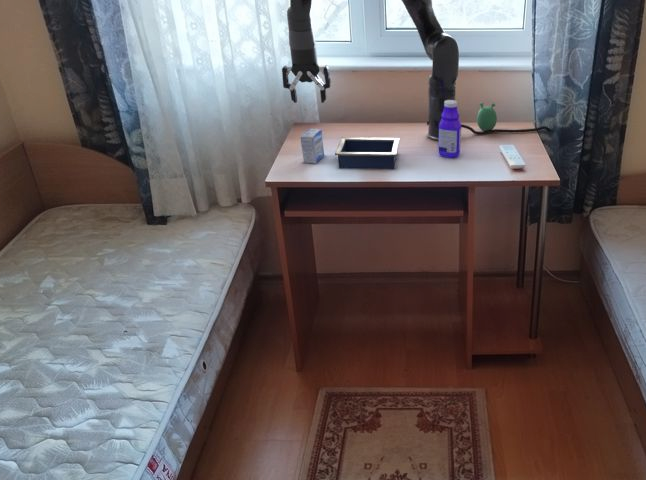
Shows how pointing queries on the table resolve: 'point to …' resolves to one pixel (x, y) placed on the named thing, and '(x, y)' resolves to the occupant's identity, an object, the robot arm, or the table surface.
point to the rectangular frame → (367, 153)
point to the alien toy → (486, 117)
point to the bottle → (449, 131)
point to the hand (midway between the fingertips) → (309, 102)
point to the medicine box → (312, 146)
